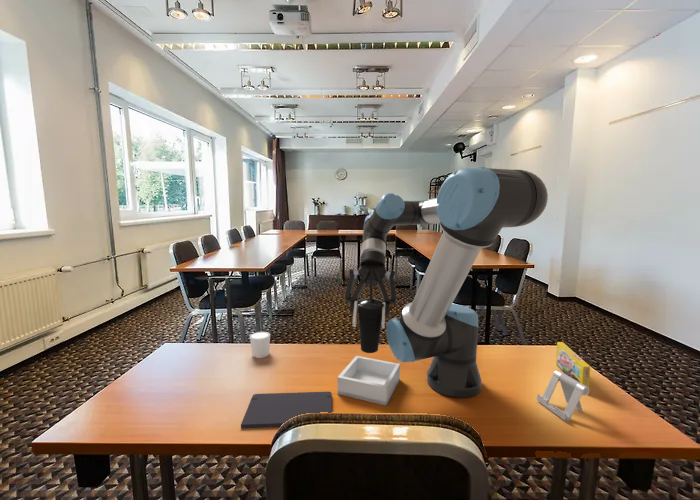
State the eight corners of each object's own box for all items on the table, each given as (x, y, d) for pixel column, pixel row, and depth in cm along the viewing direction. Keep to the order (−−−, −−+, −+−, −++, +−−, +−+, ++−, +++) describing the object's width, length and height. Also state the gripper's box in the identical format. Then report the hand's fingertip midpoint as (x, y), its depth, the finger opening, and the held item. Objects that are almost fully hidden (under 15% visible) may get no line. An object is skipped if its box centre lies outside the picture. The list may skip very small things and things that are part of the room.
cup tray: (399, 379, 100) (400, 363, 99) (386, 405, 87) (386, 387, 86) (356, 370, 105) (356, 355, 105) (337, 394, 92) (337, 377, 92)
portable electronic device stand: (536, 401, 89) (539, 372, 88) (560, 398, 91) (563, 369, 90) (563, 422, 81) (567, 390, 80) (590, 417, 83) (593, 386, 81)
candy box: (554, 365, 109) (556, 341, 108) (561, 366, 108) (564, 341, 107) (580, 393, 93) (583, 365, 92) (589, 394, 93) (592, 366, 91)
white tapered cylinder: (246, 357, 114) (246, 338, 113) (256, 349, 121) (255, 330, 120) (265, 359, 113) (265, 339, 112) (274, 350, 120) (273, 332, 119)
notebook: (241, 430, 79) (331, 427, 80) (240, 424, 78) (331, 421, 79) (253, 399, 91) (331, 396, 92) (253, 393, 91) (331, 391, 92)
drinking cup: (382, 344, 99) (385, 278, 96) (382, 356, 91) (385, 284, 88) (357, 342, 99) (358, 277, 96) (354, 354, 92) (356, 283, 89)
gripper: (405, 264, 106) (405, 333, 92) (342, 262, 108) (334, 329, 95) (406, 250, 100) (406, 321, 86) (340, 248, 102) (330, 317, 89)
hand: (368, 325), depth 90 cm, fingers closed on drinking cup, 7 cm apart
